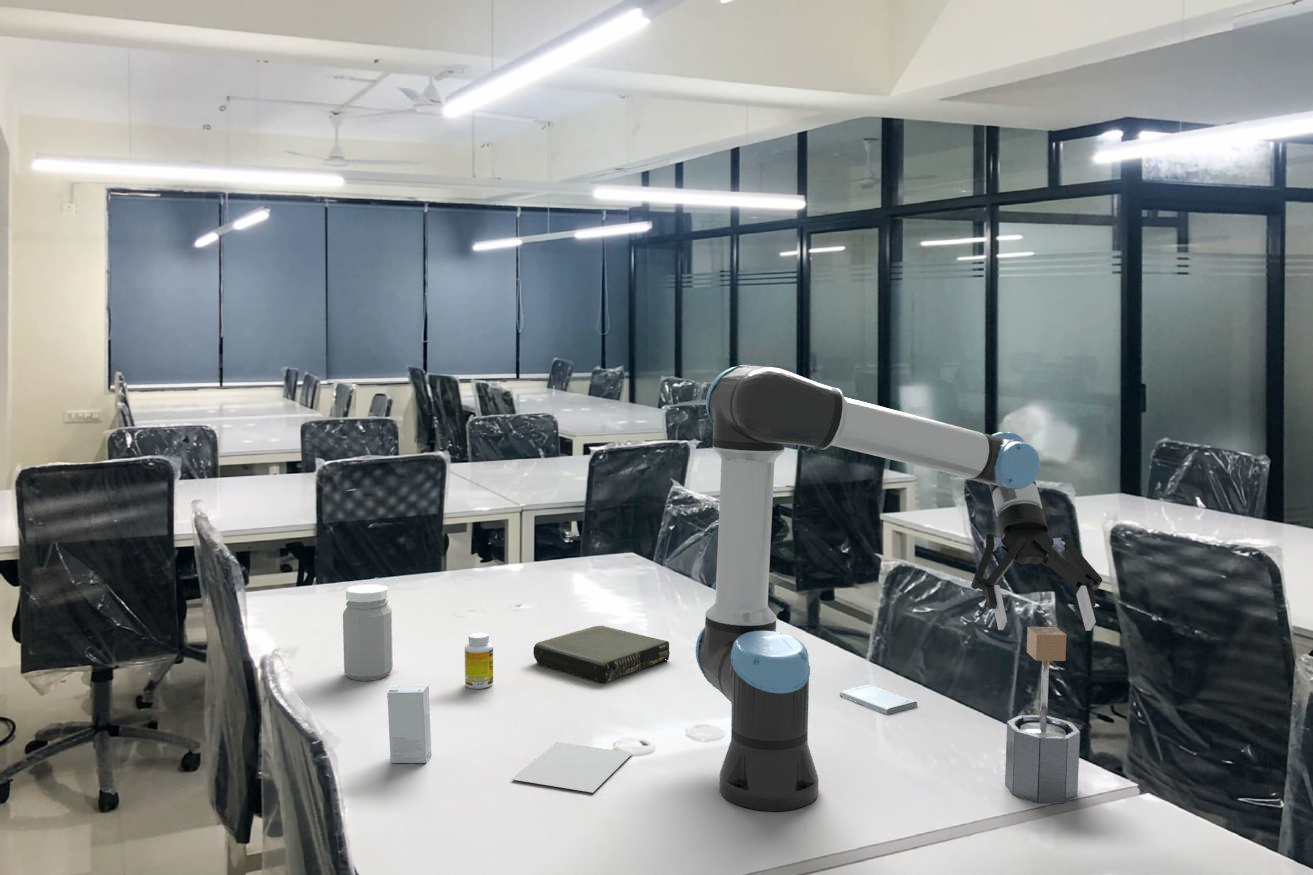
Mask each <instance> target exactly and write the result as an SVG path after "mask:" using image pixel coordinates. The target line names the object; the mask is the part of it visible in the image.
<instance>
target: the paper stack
mask: <svg viewBox="0 0 1313 875" xmlns="http://www.w3.org/2000/svg"><path fill="white" fill-rule="evenodd" d="M632 755H633V752H628V751H622V750H614V749H608V748H602V747H594V746H587V745H581V744H575V743H574V744H573V743H568V742H560V741H556V742H555V743H554V744H552V745H551V746H550V747H549V748H548V749H547V750H545V751H544V752H543V753H541V754H540V755H539V756H538V757H536V758H535V759H533V761H532V762H530V763H529V764H528V765H527V766H525V767H524V768H523V769H522V770H521V771H520V772H518V773H517V774H516V775H514V776H513V777H512V778H511V780H513V781H519V782H525V783H531V784H538V785H542V786H543V785H544V786H549V787H557V788H562V789H566V790H567V789H569V790H574V791H575V790H576V791H580V792H586V793H592V794H593V793H594V792H595V791H596V790H597V789H598V788H599V787H600V786H602V784H603V783H604V782H605V781H606V780H608V778H610V777H611V775H612V774H614V772H615V771H616V770H618V768H619V767H621V765H622V764H624V763H625V762H626V760H627V759H628V758H630V756H632Z"/></svg>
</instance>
